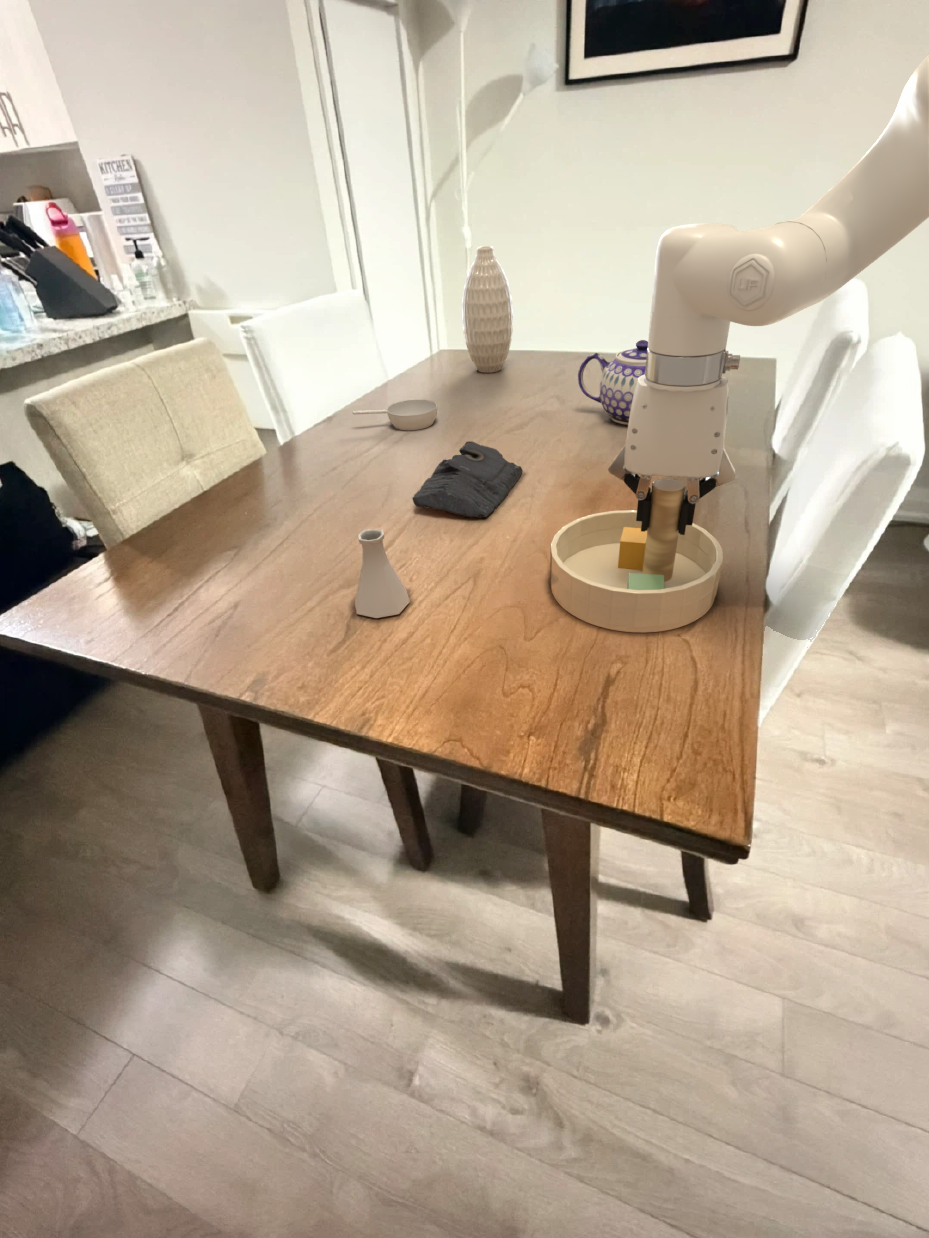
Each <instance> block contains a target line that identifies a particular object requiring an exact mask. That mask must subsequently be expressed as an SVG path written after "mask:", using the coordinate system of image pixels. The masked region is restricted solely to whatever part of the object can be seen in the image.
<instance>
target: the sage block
mask: <svg viewBox="0 0 929 1238" xmlns="http://www.w3.org/2000/svg"><path fill="white" fill-rule="evenodd" d="M627 589H632V590H660V589H665V585H664V575H656V574H637V573H629V575H628V585H627Z"/></svg>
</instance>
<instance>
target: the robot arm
mask: <svg viewBox="0 0 929 1238" xmlns="http://www.w3.org/2000/svg"><path fill="white" fill-rule="evenodd" d="M927 219H929V54H927V56H925V58H923V59H922V61H921V62H920V63H919V64H918V65H917V67H916V68H915V69H914V71H913V72H912V73H911V76H910V77H909V79H908V80H907V82H906V84H905V85H904V88H903V90H902V91H901V95H900V97H899V99H898V102H897V105H896V108H895V110H894V113H893V115H892V117H891V118H890V120H889V121H888V124H887V126H886V127H885V128H884V130H883V131H882V133H881V135H880V136H879V137H878V138H877V139H876V141H875V142H874V143H873V145H872V146H871V147H870V148H869V149H868V151H866V153H865V154H864V155H863V156H862V157H861V158H860V159H859V160H858V161H857V162H856V163H855V164H854V165H853V166H852V167H851V168H850V169H849V171H847V172H846V173H845V175H843V176H842V177H841V178H840V179H839V180H838V181H837V182H836V183H835V184H834V185H833V186H831V187H830V189H828V190H827V191H826V192H825V193H824V194H823V195H822V196H821V197H820V198H819V199H818V200H816V201H815V202H814V203H813V204H812V205H811V206H810V207H809V208H808V209H806V210H805V211H804V212H803V213H802V214H801V215H800V216H798V217H795V218H791V219H788V220H784V221H780V222H777V223H774V224H771V225H768V226H763V227H759V228H751V229H747V230H740V229H739V228H738V227H737V226H735V225H733V224H728V223H719V222H718V223H717V222H709V223H707V222H706V223H691V224H683V225H678V226H673V227H671V228H669V229H667V230H666V231H664V233H662V235H661V236H660V238H659V240H658V243H657V248H656V254H655V263H654V273H653V284H652V294H651V305H650V315H649V326H648V327H649V328H648V338H647V339H648V340H647V341H648V348H647V357H646V368H645V375H642V376H640V377H639V378H638V380H637V384H636V387H635V391H634V395H633V400H632V405H631V411H630V417H629V423H628V425H627V430H626V431H627V432H626V440H625V443H624V444H623V446H622V447H621V448H620V449H619V451H618V452H617V454H616V455H615V456H614V458H613V459H612V460H611V462H610V463H609V466H608V469H607V470H608V472H609V473H610V474H611V475H612V476H614V477H615V478H617V479H619V480H620V481H623V483H624V485H626V486H627V487H628V488H629V489H630V490H631V491H632V492H633V494H634V495H635V498H636V499H637V505H636V506H637V508H636V510H637V516H636V521H642V525H641V531H643V532H645V531H647V529H648V521H649V512H650V503H651V491H652V487H650V485H651V481H652V478H653V477H654V476H655V477H668V478H686V479H687V481H686V483H687V484H686V485H687V489H685V492H684V499H683V503H682V510H681V517H680V524H679V532H678V533H680V535H685V529H686V525H692V524H693V523H694V516H695V511H696V504H697V503H698V502H699V501H700V499H702V498H703V497H704V496H706V495H708V494H709V493H710V492H712V491H713V490H714V489H715V488H717V487H720V486H723V485H725V484H727V483H729V482H732V481H734V480H735V479H736V469H735V467H734V465H733V462H732V461H731V458H730V457H729V455H728V452H727V451H726V448H725V438H726V430H727V421H728V414H729V413H728V411H729V379H728V378H727V377H726V376H724V375H725V374H726V372H730V371H731V370H739V367H740V360H741V355H740V354H733V353H729V350H727V346H728V345H727V344H728V338H729V332H730V326H731V323H734V324H738V325H741V326H742V325H743V326H747V327H764V326H769V325H772V324H775V323H779V322H781V321H783V320H785V319H786V318H789V317H792V316H793V315H795V314H797V313H798V312H800V311H803V310H804V309H807V308H809V307H812V306H814V305H816V304H818V303H820V302H822V301H824V300H825V299H827V298H828V297H830V296H831V295H833V294H834V293H836V292H837V291H839V290H840V289H841V288H843V287H844V286H845V285H846V284H848V283H849V282H850V281H851V280H852V279H854V278H855V277H857V276H858V275H859V274H860V273H861V272H863V271H865V269H867V268H868V267H869V266H871V264H873V263H874V262H876V260H878V259H879V258H880V257H881V256H883V255H885V254H886V253H887V252H888V251H890V250H891V249H892V248H893V247H895V246H896V245H897V244H898V243H899V242H901V241H902V240H904V239H905V238H906V237H907V236H908V235H909V234H911V233H912V232H913V231H914V230H915V229H916V228H918V227H919V226H920V225H922V223H924V222H925V221H926V220H927Z"/></svg>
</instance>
